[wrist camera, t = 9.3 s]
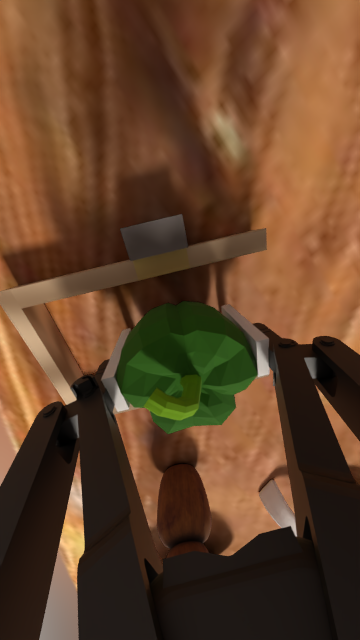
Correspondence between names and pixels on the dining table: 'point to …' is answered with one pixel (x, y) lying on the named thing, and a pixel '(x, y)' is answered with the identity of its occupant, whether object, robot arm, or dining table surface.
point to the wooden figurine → (183, 511)
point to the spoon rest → (277, 506)
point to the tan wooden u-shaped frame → (144, 262)
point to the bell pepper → (185, 365)
